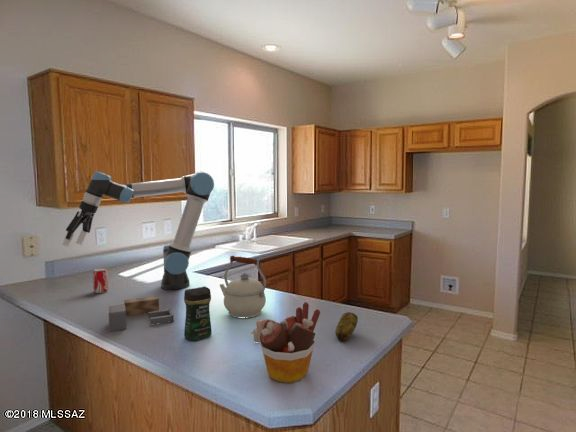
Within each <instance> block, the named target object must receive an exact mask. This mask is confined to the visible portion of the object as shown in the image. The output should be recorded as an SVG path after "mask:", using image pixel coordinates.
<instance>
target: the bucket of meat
mask: <svg viewBox="0 0 576 432" xmlns="http://www.w3.org/2000/svg"><path fill="white" fill-rule="evenodd" d="M309 306H310V305H309V303H308V302H306V301H305V302H303V304H302V307H300V306H298V307H297V308H296V310H295V316H294V315H292V316H287V317H286V318H285V319H283V320H281V321H280V322H278V321H275V320H273V319H258V320H256V322H255V323H256V324H255V325H256V328H257V329H258V331H259V334H260V343H259V344H260V345H261V350H262V353H263V357H264V363H265V366H266V370H267V374H268V377H270V378H271V379H272V378H273V379H272V380H274V381H276V382H278V383H281V382H286V383H285V384H292V382H293V383H296V382H295V381H297V382H299V380H300V381H301V380H302V379H303V378H304V377H305V376H306V374H308V372H309V368H310V364H311V360H312V355H313V352H314V347H315V343H316V341H315V336H316V333H315V332H314V331H315V328H316V325H317V323H318V320H319V317H320V315H321V311H320V309H315V310H314V312H313V314H312V316H311V319H310V320H309Z"/></svg>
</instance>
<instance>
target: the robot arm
mask: <svg viewBox="0 0 576 432" xmlns="http://www.w3.org/2000/svg"><path fill="white" fill-rule="evenodd" d="M111 179H112V177H111V175H108V174H106V173H104V172H101V171H94V173H93V174H92V177H91V179H90V181H89V183H88V185H87V188H86V191H85V192H84V193H83V197H82V201H81V202H80V204H79V206H78V207H79V210H80V211H76V212H75V213H76V214H75V215H74V217H73V219H72V220H71V222H69V224H68V226H66V228H65V232H66V235H65V238H64V240H63V242H62V244H61V245H62V246H64V247H68V248H69V247H70V246H71V242H72V240H73V238H74V235H75V232H76V231H77V230H78V228H79V227H80V226H81V224H82V230H80V232H79V235H78V237H77V239H76V242H75V243H76V244H78V245H80V246H82V245H83V243H84V241H85V239H86V236H87V234H88V233H90V232H91V230H92V225H93V220H94V216H95V214H96V213H97V211H98V209H99V206H100V205H101V203H102V200H103V197H104V196H105V197H109V198H112V199H114V200H117V201H119V202H120V203H126V204H129V203H130V202H131V200H132V199H133V198H134V199H135V198H142V197H151V196H152V197H153V196H161V195H169V194H177V193H183V194H185V196H186V197H187V200H186V203H185V206H184V208H183V212H182V214H181V218H180V220H179V224H178V227H177V231H176V233H175V236H174V240H173V242H171V243H169V244H167V245H164V246H163V249H162V252H163V253H162V254H163V274H162V278H161V282H160V287H161V289H164V290H180V289H185V288H187V287H189V286H190V283H191V282H190V278H189V276H188V273H187V269H188V268H189V262H190V261H189V259H190V257H191V255H192V249H191V245H192V242H193V241H192V240H193V238H194V236H195V235H194V234H195V232H196V229H197V227H198V223H199V221H200V216H201V213H202V211H203V207H204V205H205V203H208V202H209V199H210V196H211V193H212V191H214V187H215V180H214V179H213V176H212V175H210V174H209V173H207V172H205V171H198V172H194V173H192V174H188V175H183V176H181V177H180V178H179V177H178V178H170V179H161V180H151V181H150V180H149V181H144V182H143V181H142V182H134V183H133V182H132V183H124V184H123V183H121V184H120V183H118V182H114V181H113V180H111Z"/></svg>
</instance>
